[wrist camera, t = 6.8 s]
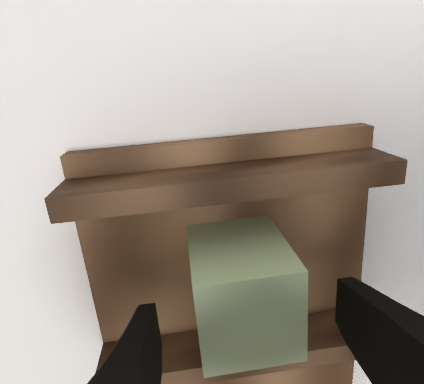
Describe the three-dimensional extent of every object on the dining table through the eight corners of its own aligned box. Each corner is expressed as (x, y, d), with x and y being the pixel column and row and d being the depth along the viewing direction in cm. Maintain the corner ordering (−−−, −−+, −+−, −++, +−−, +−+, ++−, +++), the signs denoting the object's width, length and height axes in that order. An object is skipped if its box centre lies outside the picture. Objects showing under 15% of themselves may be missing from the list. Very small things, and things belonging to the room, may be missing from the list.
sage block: (268, 214, 16) (308, 271, 11) (271, 284, 17) (307, 361, 13) (186, 225, 16) (192, 287, 11) (195, 295, 17) (203, 378, 12)
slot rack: (362, 123, 16) (410, 135, 13) (340, 427, 23) (367, 485, 20) (66, 151, 15) (37, 172, 12) (137, 462, 22) (130, 530, 19)
